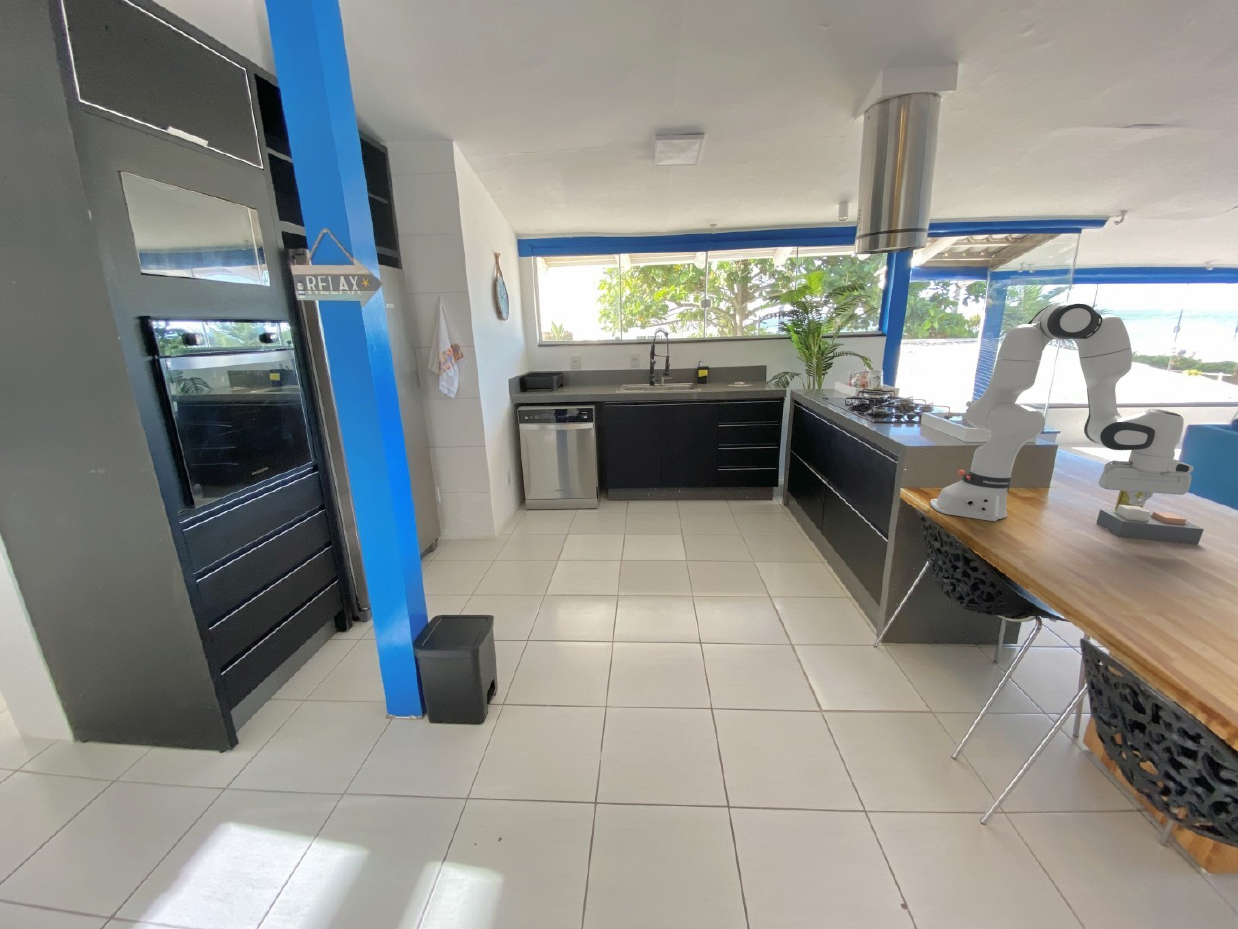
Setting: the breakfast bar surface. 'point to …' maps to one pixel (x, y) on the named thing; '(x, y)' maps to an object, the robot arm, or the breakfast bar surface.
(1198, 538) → the keypad
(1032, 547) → the breakfast bar surface
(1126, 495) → the sauce bottle
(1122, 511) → the cream key
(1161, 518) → the terracotta key
